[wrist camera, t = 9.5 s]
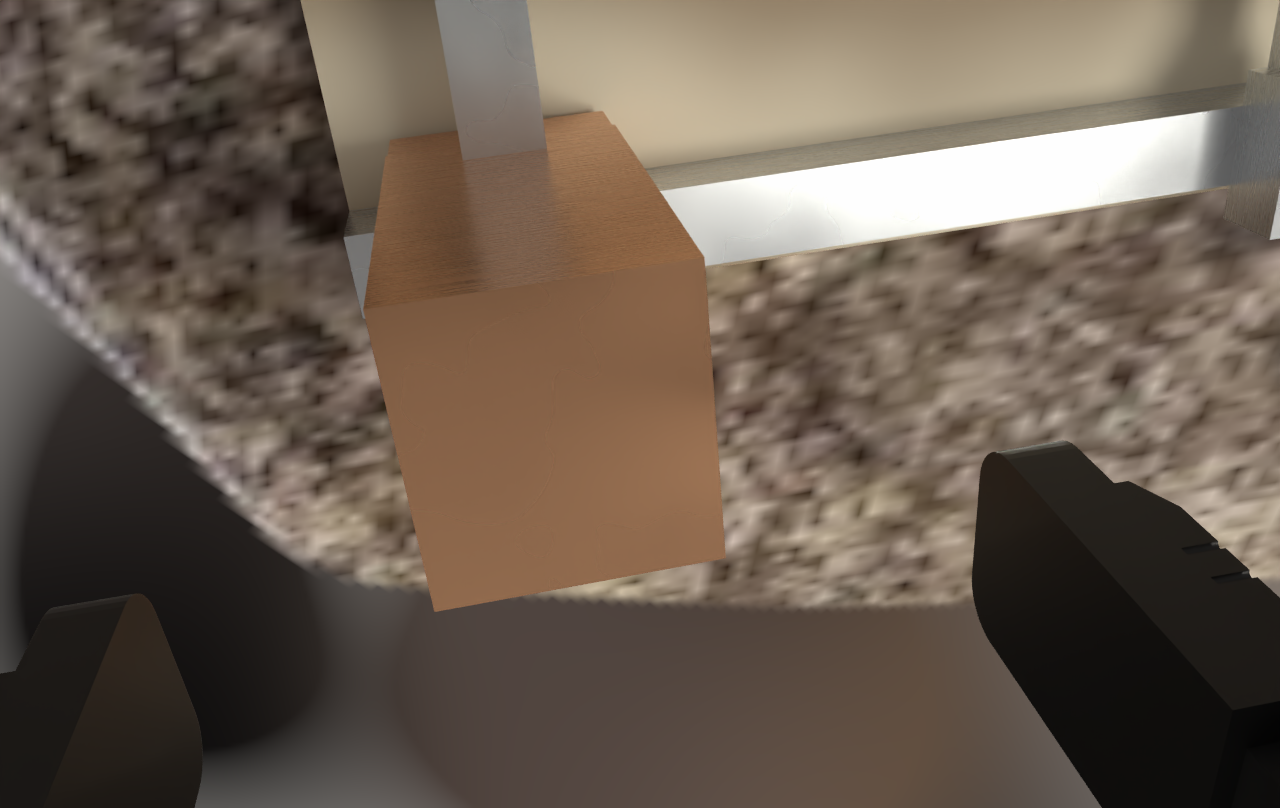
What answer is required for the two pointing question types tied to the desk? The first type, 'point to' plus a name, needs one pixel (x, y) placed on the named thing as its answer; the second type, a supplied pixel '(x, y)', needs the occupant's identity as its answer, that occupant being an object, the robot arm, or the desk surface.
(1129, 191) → the divider beam
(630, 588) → the desk surface
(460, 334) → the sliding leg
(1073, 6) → the bolt plate
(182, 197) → the desk surface
